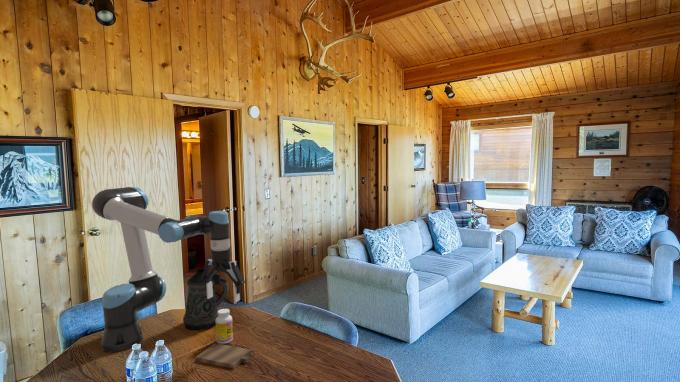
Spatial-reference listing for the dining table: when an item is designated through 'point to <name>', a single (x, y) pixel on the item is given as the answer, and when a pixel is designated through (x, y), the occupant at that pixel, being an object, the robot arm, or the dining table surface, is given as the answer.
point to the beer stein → (202, 302)
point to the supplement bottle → (224, 327)
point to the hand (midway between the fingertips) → (223, 299)
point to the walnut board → (224, 355)
